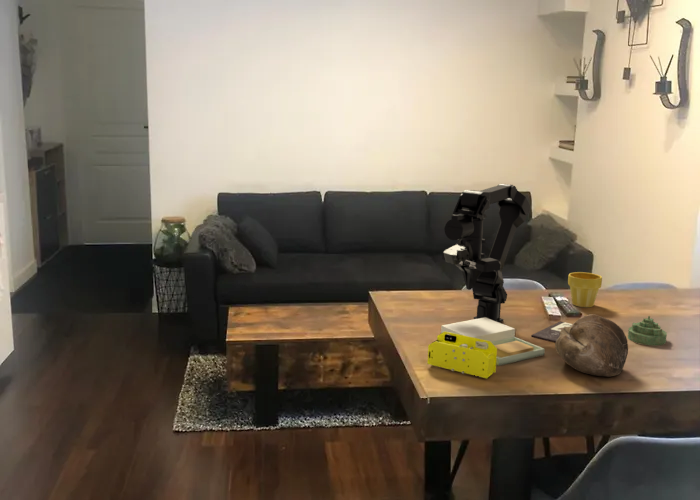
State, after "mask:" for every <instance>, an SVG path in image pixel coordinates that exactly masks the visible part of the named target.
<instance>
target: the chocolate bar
mask: <svg viewBox="0 0 700 500" xmlns="http://www.w3.org/2000/svg"><path fill="white" fill-rule="evenodd" d="M572 324H573V323H569V322H565V321H558V322H557V323H554V324H552V325H550V326H547V327H545V328H543V329H541V330H539V331H537V332H535V333H533V334H531V335H530V336H531V338H535V339H538V340H543V341H547V342H551V343H554V344H556V340H557V339H558V338H559V336H560V331H561V330H562V329H563V328H564V327H571V326H572Z"/></svg>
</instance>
